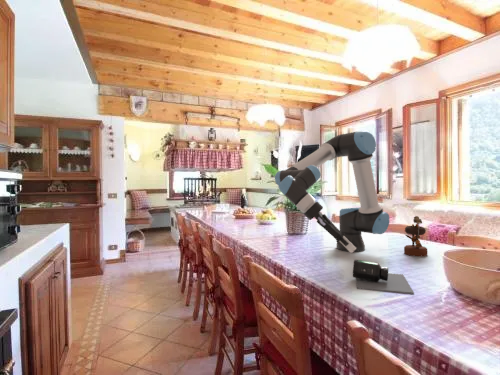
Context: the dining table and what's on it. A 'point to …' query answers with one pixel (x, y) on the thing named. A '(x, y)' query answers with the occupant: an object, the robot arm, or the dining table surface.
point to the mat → (387, 284)
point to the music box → (415, 239)
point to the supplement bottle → (369, 271)
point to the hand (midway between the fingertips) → (353, 250)
